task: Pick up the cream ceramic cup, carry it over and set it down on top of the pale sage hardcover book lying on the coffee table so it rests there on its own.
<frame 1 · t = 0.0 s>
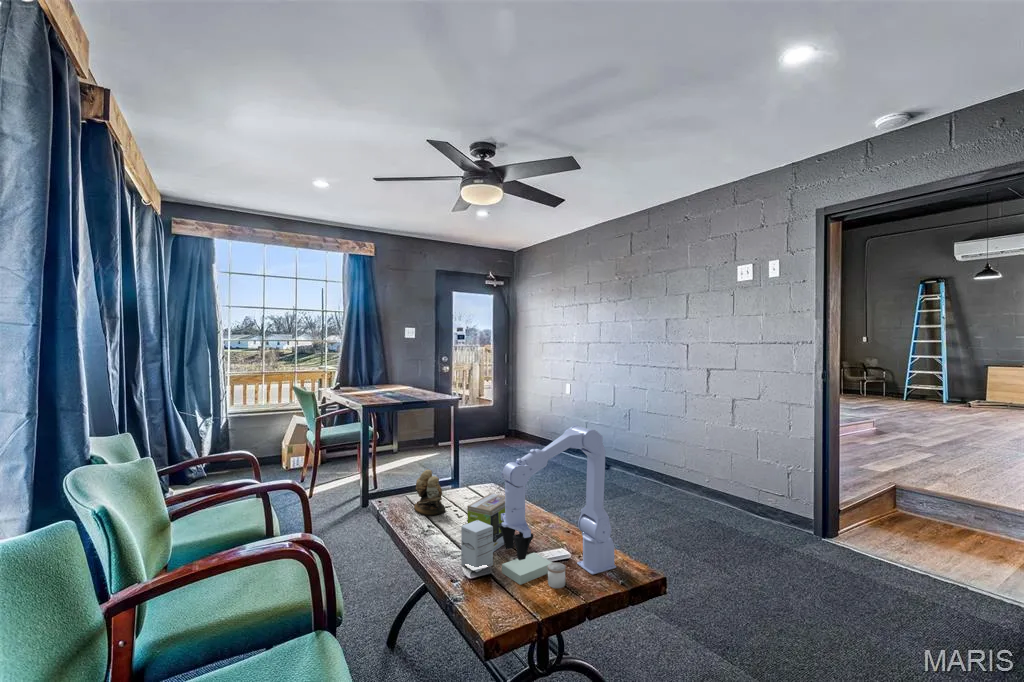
hand: (515, 553, 135), 10 cm above the table, fingers open, 7 cm apart
sage book: (527, 573, 145), on the table
cream cup: (556, 583, 138), on the table
supplement box: (477, 566, 149), on the table
brown rock sculpture: (430, 510, 198), on the table
tea box: (491, 543, 165), on the table
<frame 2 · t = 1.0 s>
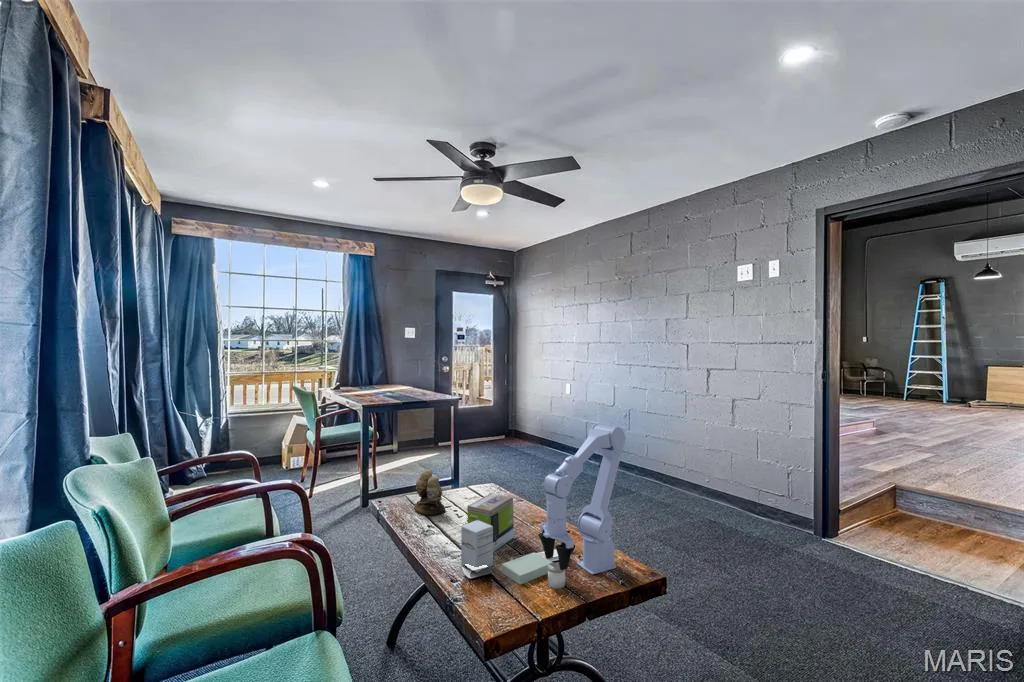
hand: (556, 563, 138), 6 cm above the table, fingers open, 7 cm apart
nothing on the table moved.
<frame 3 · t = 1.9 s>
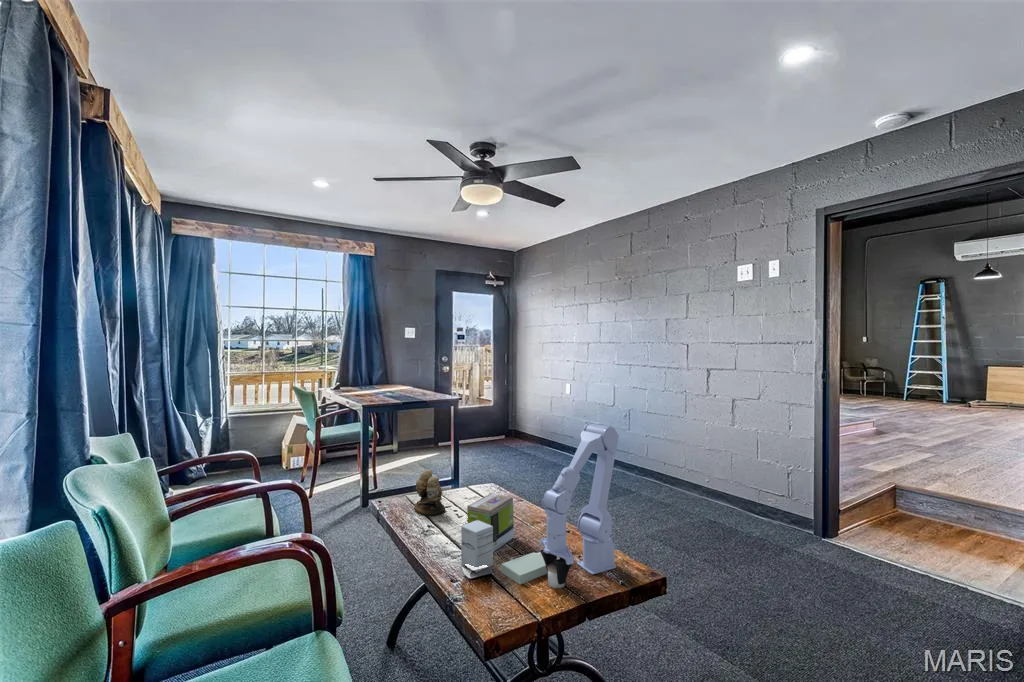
hand: (556, 578, 138), 1 cm above the table, fingers closed on cream cup, 5 cm apart
cream cup: (556, 583, 138), on the table, touching gripper
everything else where it was.
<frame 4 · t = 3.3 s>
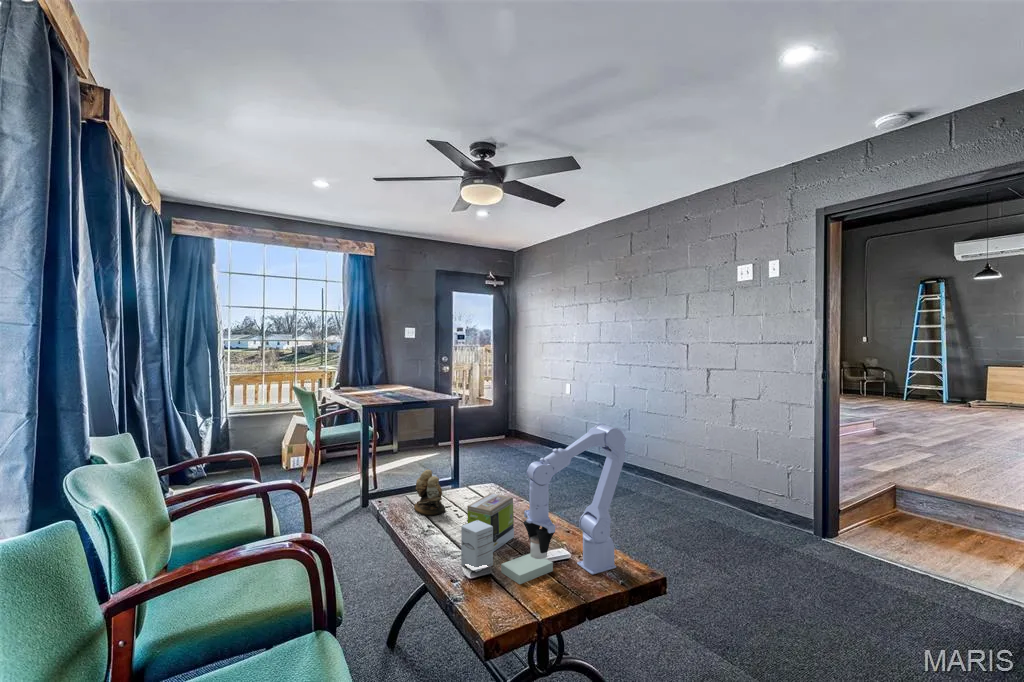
hand: (538, 548, 142), 8 cm above the table, fingers closed on cream cup, 5 cm apart
cream cup: (538, 555, 141), point 6 cm above the table, touching gripper
everything else where it was.
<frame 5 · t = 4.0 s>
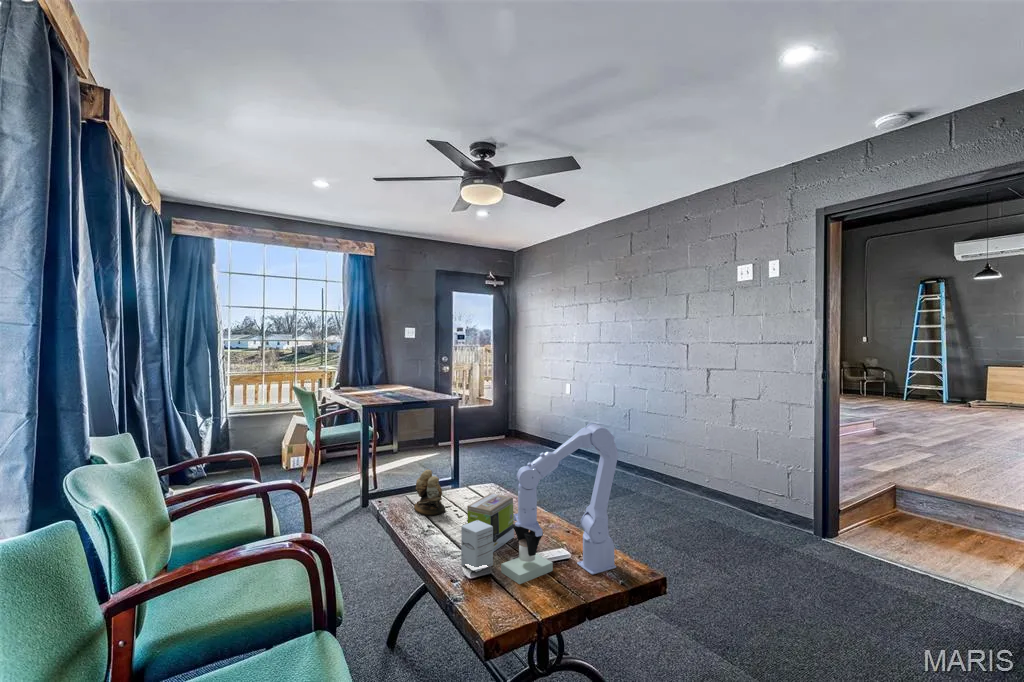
hand: (527, 551, 145), 6 cm above the table, fingers closed on cream cup, 5 cm apart
cream cup: (527, 558, 144), point 4 cm above the table, touching gripper
everything else where it was.
when the fingers open (5 cm above the table, at t = 4.7 s): cream cup stays where it is, resting on sage book.
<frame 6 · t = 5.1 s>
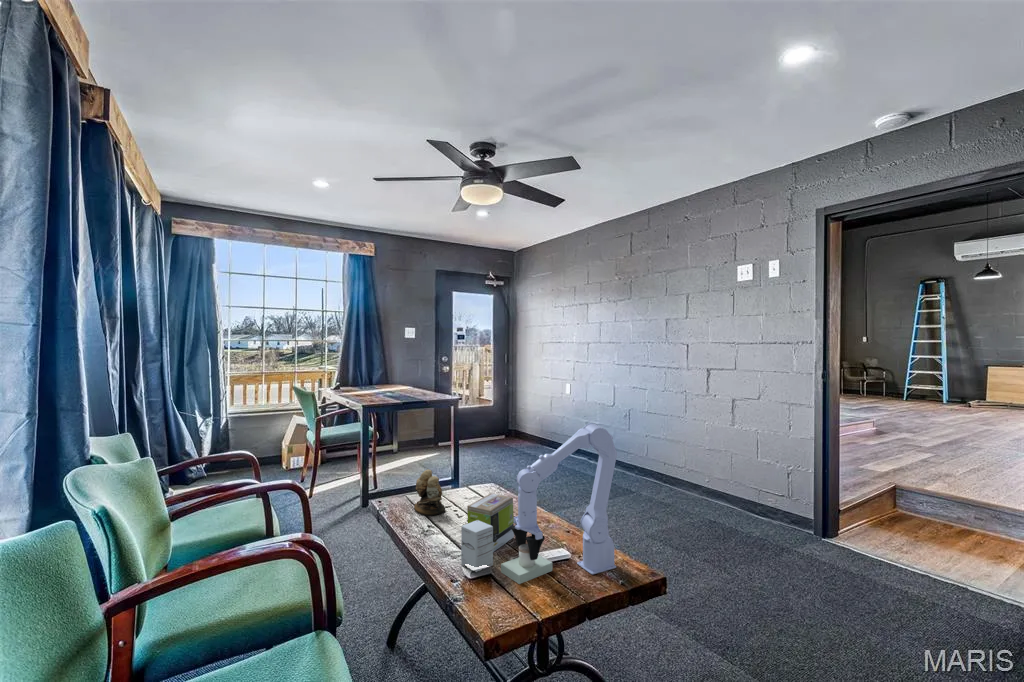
hand: (527, 554, 145), 5 cm above the table, fingers open, 7 cm apart
sage book: (526, 572, 145), on the table, touching cream cup
cream cup: (527, 563, 145), point 2 cm above the table, touching sage book
everything else where it was.
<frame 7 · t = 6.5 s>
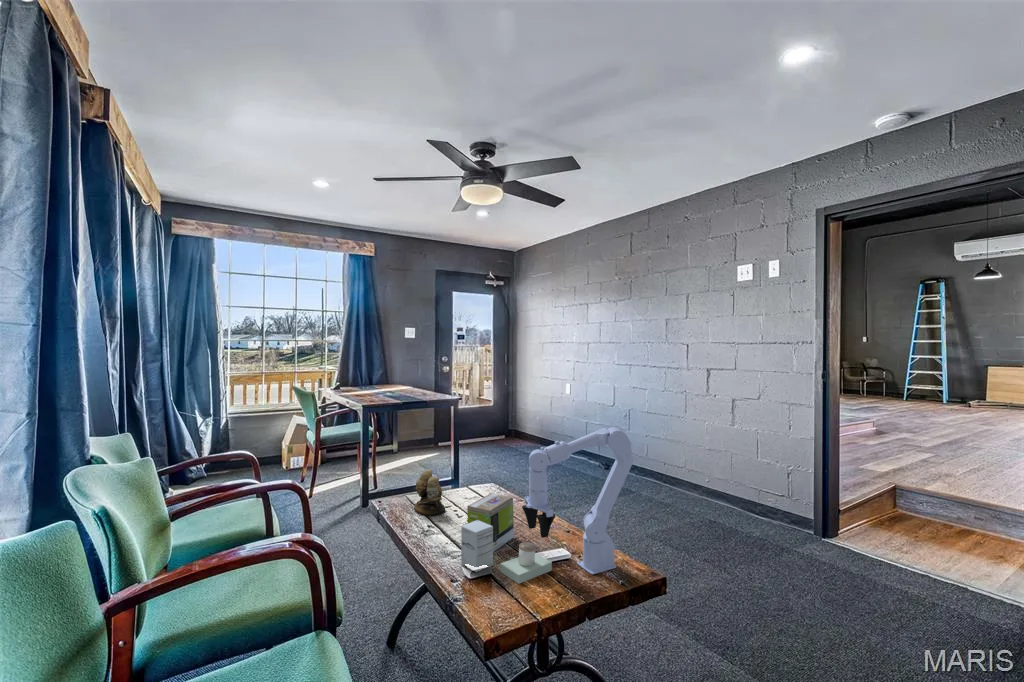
hand: (538, 532, 149), 10 cm above the table, fingers open, 7 cm apart
sage book: (526, 572, 145), on the table
cream cup: (526, 562, 145), point 3 cm above the table
everything else where it was.
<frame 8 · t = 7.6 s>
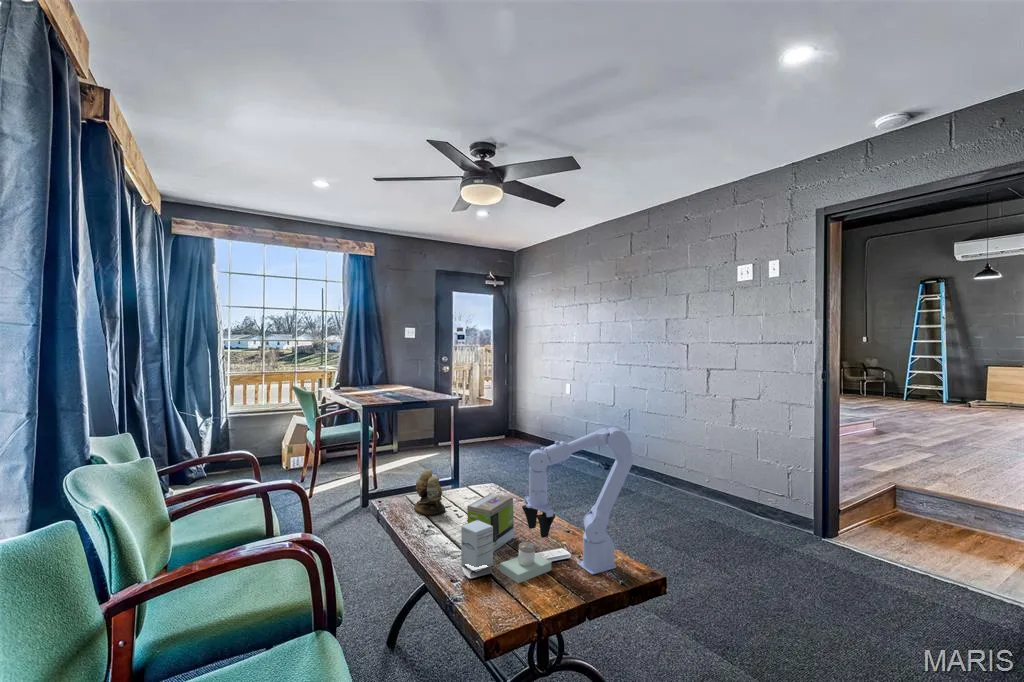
hand: (538, 532, 149), 10 cm above the table, fingers open, 7 cm apart
sage book: (525, 572, 145), on the table, touching cream cup
cream cup: (525, 561, 145), point 3 cm above the table, tilted 7°, touching sage book
everything else where it was.
at the end: cream cup inside the target area on the sage book (0.0 cm from its centre), point 3.4 cm above the sage book's base; cream cup tilted 9°; the gripper is holding nothing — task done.
